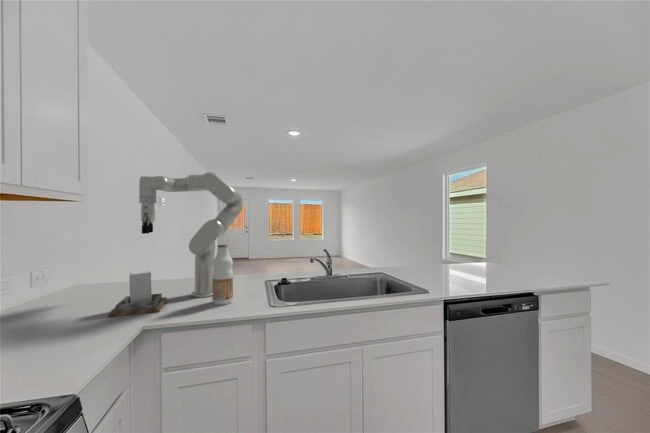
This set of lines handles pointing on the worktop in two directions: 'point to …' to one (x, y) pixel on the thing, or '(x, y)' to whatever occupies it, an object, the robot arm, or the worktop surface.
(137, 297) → the skincare box
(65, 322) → the worktop surface
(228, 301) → the fruit juice
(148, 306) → the tray
